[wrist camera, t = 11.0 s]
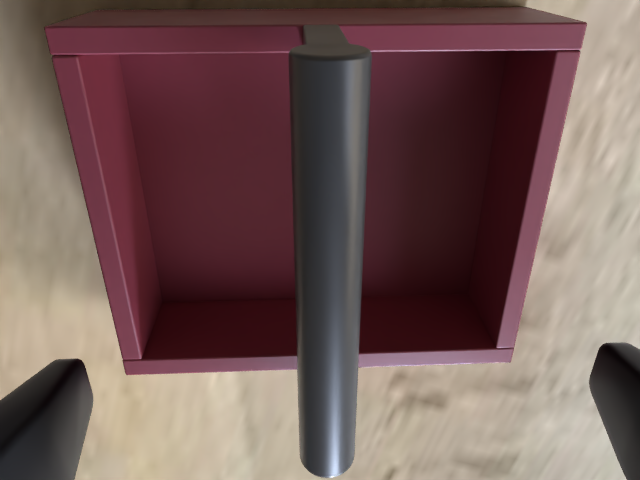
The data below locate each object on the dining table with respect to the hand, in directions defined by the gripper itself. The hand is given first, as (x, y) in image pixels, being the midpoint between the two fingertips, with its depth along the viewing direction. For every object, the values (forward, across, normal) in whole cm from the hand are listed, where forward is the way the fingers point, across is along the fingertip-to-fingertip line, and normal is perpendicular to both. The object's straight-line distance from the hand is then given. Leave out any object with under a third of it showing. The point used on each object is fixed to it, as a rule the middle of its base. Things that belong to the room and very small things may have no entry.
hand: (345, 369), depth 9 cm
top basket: (+9, 0, 0) cm, 9 cm away
